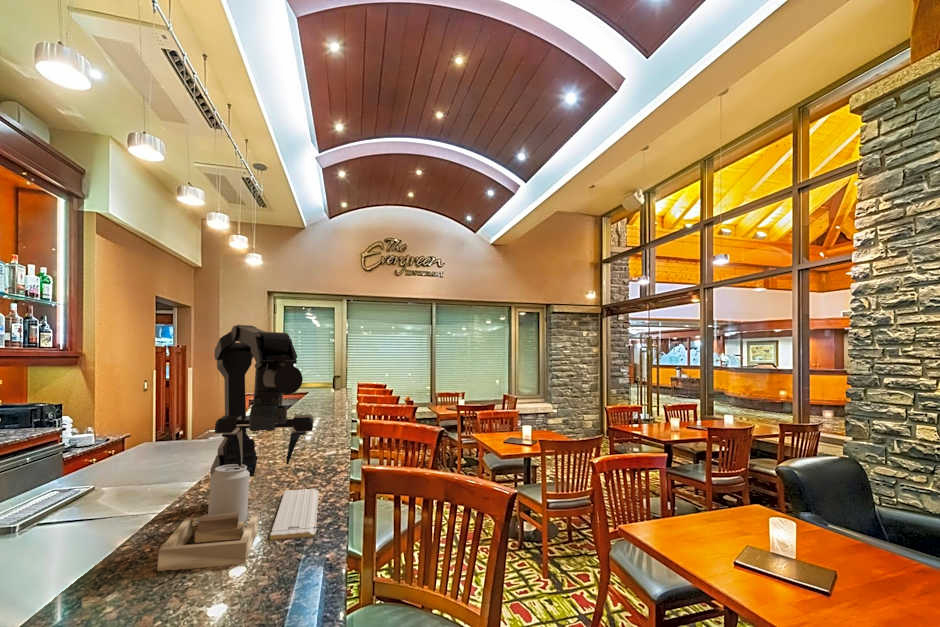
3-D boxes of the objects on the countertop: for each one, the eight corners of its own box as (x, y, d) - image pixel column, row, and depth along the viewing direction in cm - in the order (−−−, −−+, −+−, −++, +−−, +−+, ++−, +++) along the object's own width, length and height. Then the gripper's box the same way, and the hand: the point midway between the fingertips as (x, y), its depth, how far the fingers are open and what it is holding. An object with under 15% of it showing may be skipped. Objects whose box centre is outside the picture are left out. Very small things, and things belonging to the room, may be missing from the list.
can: (253, 518, 101) (257, 463, 102) (233, 532, 94) (237, 472, 95) (221, 517, 102) (224, 461, 103) (198, 530, 94) (203, 470, 95)
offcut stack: (199, 535, 92) (201, 514, 92) (243, 531, 94) (244, 511, 94) (194, 543, 88) (195, 521, 88) (240, 539, 90) (241, 518, 91)
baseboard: (324, 493, 122) (284, 496, 119) (325, 482, 122) (284, 485, 119) (322, 538, 93) (269, 543, 90) (323, 523, 94) (270, 528, 91)
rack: (184, 536, 91) (185, 518, 91) (258, 530, 95) (259, 513, 95) (157, 571, 77) (158, 550, 77) (245, 563, 80) (246, 542, 81)
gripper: (210, 394, 88) (204, 477, 87) (313, 394, 93) (309, 472, 92) (223, 389, 99) (218, 463, 97) (315, 389, 104) (311, 459, 103)
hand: (264, 464), depth 97 cm, fingers open, 9 cm apart
